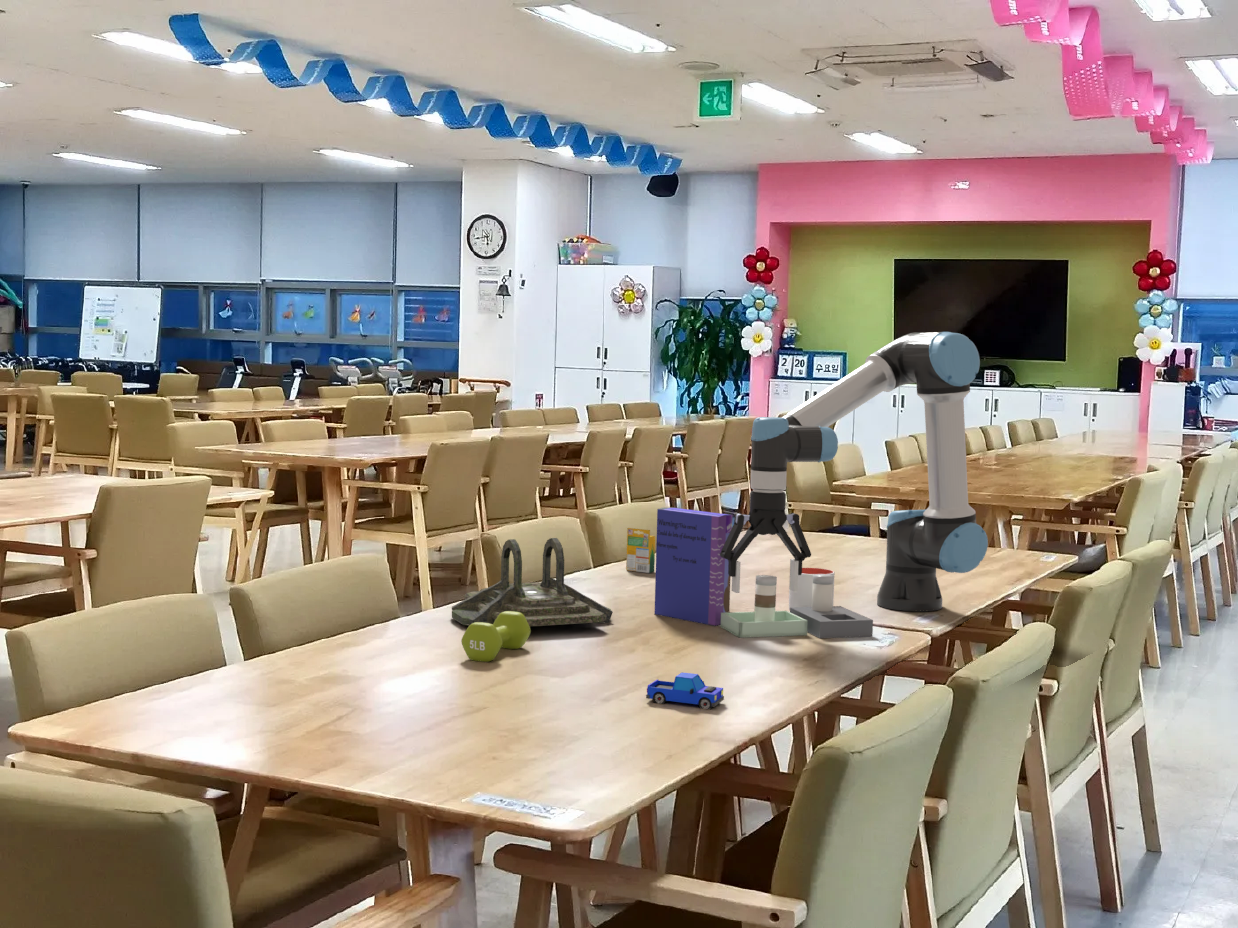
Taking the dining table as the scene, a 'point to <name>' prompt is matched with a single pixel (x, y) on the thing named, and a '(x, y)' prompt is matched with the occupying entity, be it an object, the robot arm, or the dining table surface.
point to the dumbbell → (495, 636)
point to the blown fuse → (765, 598)
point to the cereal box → (692, 565)
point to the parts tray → (763, 624)
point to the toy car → (685, 691)
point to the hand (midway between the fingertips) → (764, 591)
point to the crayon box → (640, 551)
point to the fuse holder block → (831, 614)
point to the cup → (806, 587)
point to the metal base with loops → (531, 595)
